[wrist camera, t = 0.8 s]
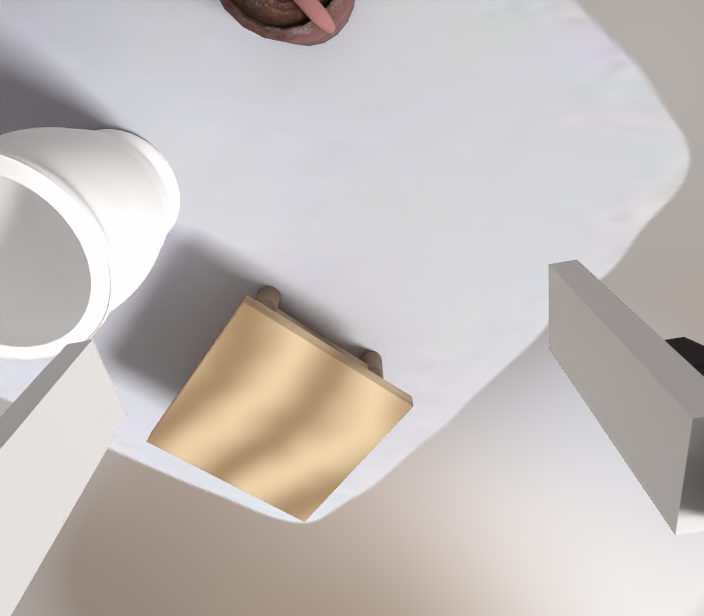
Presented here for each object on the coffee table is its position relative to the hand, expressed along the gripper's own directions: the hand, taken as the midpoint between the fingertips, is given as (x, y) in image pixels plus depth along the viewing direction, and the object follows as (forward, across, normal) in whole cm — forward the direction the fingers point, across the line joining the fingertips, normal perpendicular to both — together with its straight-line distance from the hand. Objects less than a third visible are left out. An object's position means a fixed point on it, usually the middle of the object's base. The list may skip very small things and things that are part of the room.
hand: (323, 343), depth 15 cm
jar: (+25, -15, +1) cm, 29 cm away
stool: (+24, -7, -16) cm, 30 cm away
